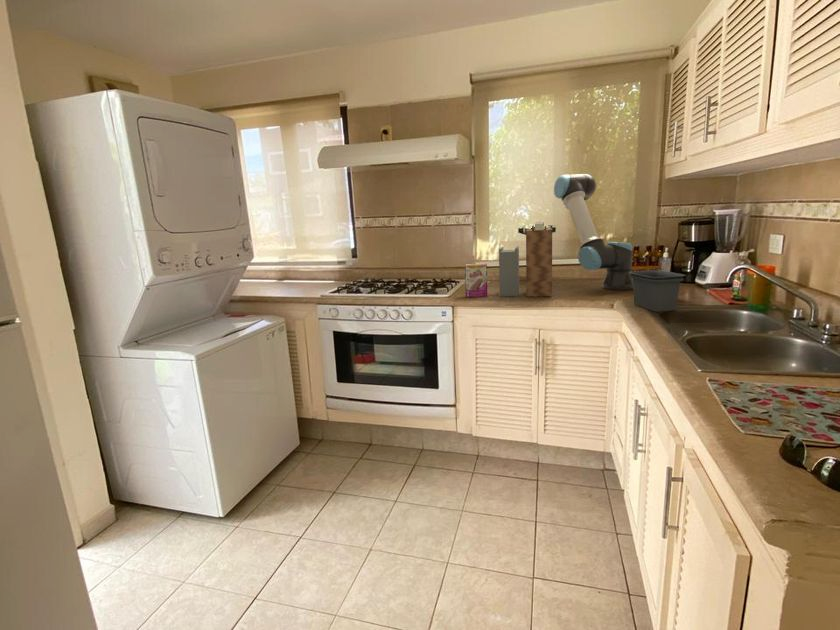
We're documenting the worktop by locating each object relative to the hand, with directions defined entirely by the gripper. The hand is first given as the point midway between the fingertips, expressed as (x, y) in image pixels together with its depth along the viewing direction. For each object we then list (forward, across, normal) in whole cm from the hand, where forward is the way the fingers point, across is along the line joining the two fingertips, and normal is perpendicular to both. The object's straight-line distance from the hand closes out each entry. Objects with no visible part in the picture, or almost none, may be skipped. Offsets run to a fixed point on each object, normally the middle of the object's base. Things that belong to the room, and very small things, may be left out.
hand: (536, 227), depth 246 cm
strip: (+22, -1, -5) cm, 23 cm away
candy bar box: (+22, +29, -38) cm, 53 cm away
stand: (+19, -2, -37) cm, 42 cm away
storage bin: (+51, -48, -43) cm, 82 cm away
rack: (+16, +13, -36) cm, 42 cm away
